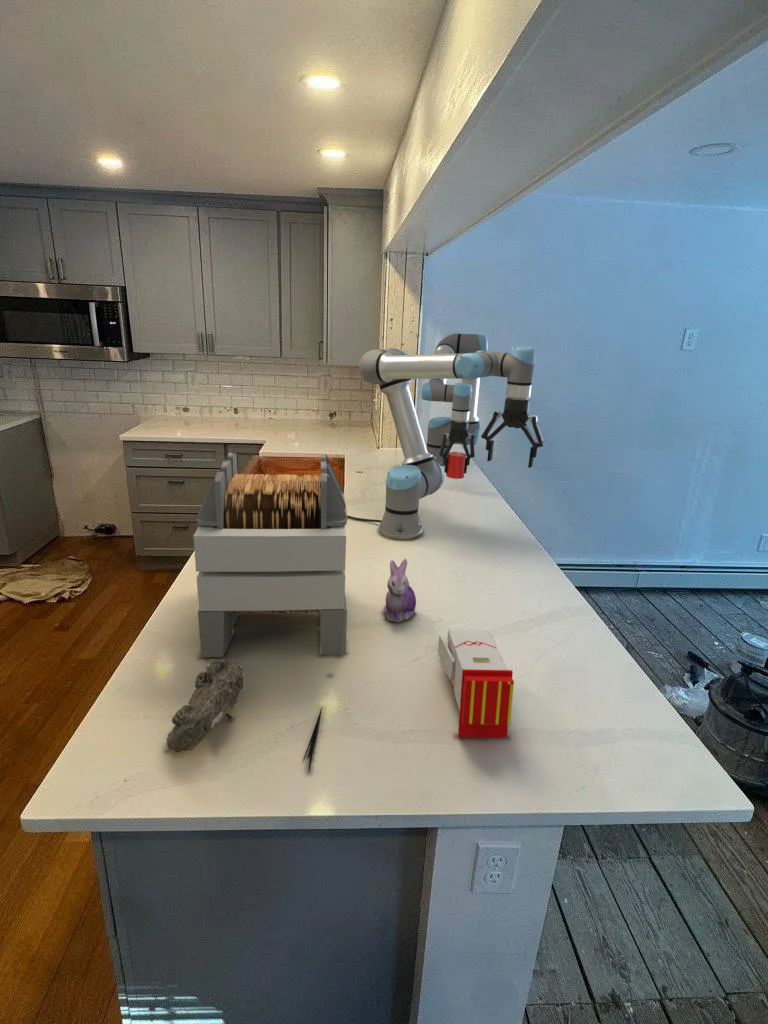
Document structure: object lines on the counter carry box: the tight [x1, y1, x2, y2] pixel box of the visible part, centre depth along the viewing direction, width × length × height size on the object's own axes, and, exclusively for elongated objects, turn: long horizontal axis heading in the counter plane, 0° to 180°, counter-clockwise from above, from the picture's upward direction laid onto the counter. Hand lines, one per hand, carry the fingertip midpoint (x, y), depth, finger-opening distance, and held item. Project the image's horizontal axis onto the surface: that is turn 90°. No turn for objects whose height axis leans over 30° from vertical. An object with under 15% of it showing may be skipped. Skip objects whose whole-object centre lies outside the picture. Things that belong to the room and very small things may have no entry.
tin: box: [445, 451, 467, 480], centre depth 247 cm, size 8×8×10 cm
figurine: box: [384, 558, 417, 623], centre depth 145 cm, size 9×10×15 cm
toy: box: [437, 628, 515, 738], centre depth 117 cm, size 12×13×30 cm
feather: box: [301, 673, 332, 771], centre depth 108 cm, size 2×28×2 cm
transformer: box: [193, 452, 348, 659], centre depth 136 cm, size 34×33×41 cm
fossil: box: [166, 658, 245, 754], centre depth 106 cm, size 22×10×15 cm
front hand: (509, 463), depth 185 cm, fingers open, 13 cm apart
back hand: (455, 472), depth 248 cm, fingers closed on tin, 8 cm apart
